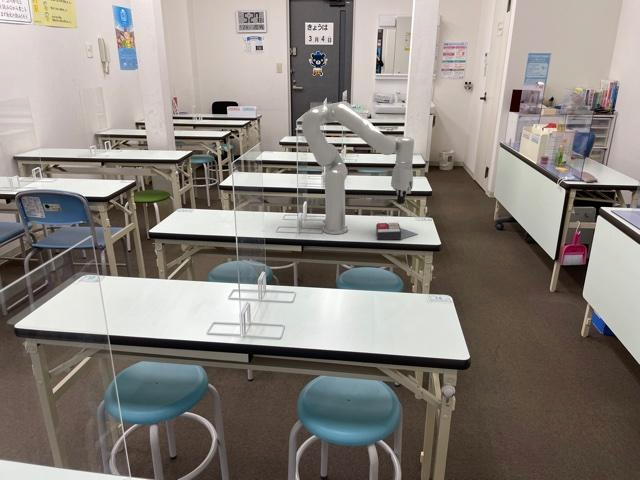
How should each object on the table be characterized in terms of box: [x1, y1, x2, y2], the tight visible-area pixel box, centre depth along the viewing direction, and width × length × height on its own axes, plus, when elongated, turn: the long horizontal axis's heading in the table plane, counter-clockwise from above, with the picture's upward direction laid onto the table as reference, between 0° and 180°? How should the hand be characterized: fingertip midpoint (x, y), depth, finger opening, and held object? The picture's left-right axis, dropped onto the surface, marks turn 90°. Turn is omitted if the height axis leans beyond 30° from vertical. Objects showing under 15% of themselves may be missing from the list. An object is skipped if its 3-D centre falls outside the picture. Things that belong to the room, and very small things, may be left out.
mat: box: [400, 227, 419, 241], centre depth 228 cm, size 12×11×1 cm
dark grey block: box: [375, 222, 401, 241], centre depth 227 cm, size 11×4×15 cm
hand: (400, 203), depth 224 cm, fingers closed
